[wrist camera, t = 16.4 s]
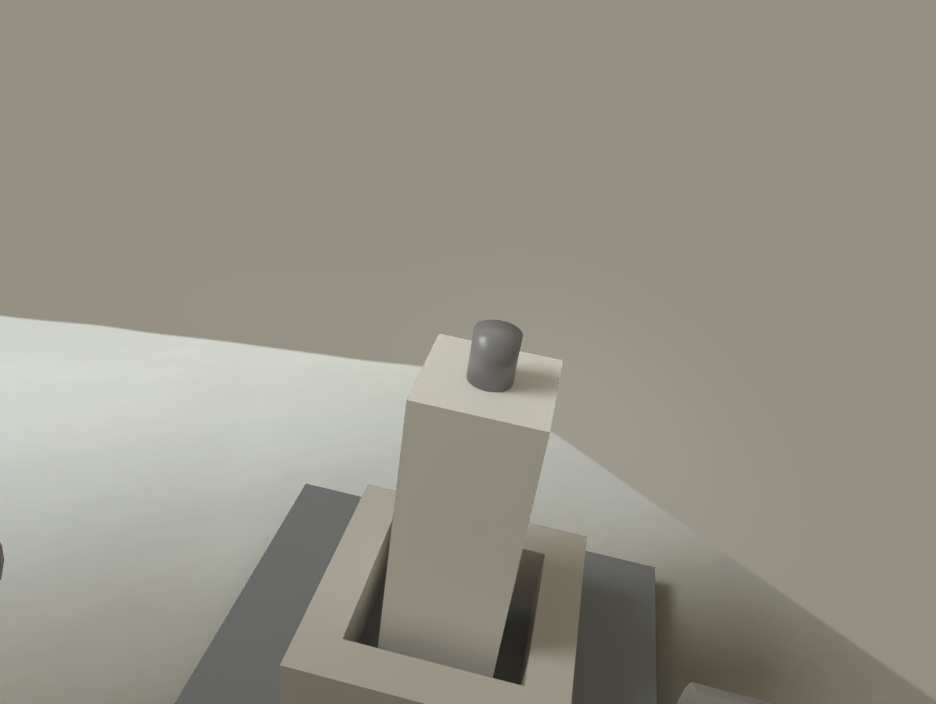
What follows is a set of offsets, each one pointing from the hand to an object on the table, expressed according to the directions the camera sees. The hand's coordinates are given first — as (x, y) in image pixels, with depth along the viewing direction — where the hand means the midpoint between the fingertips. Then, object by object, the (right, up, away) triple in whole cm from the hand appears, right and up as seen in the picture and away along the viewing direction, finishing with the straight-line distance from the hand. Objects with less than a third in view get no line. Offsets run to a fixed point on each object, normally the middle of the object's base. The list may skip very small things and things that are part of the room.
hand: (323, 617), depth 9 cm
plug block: (+1, -8, +20) cm, 22 cm away
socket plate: (+1, -9, +21) cm, 23 cm away
